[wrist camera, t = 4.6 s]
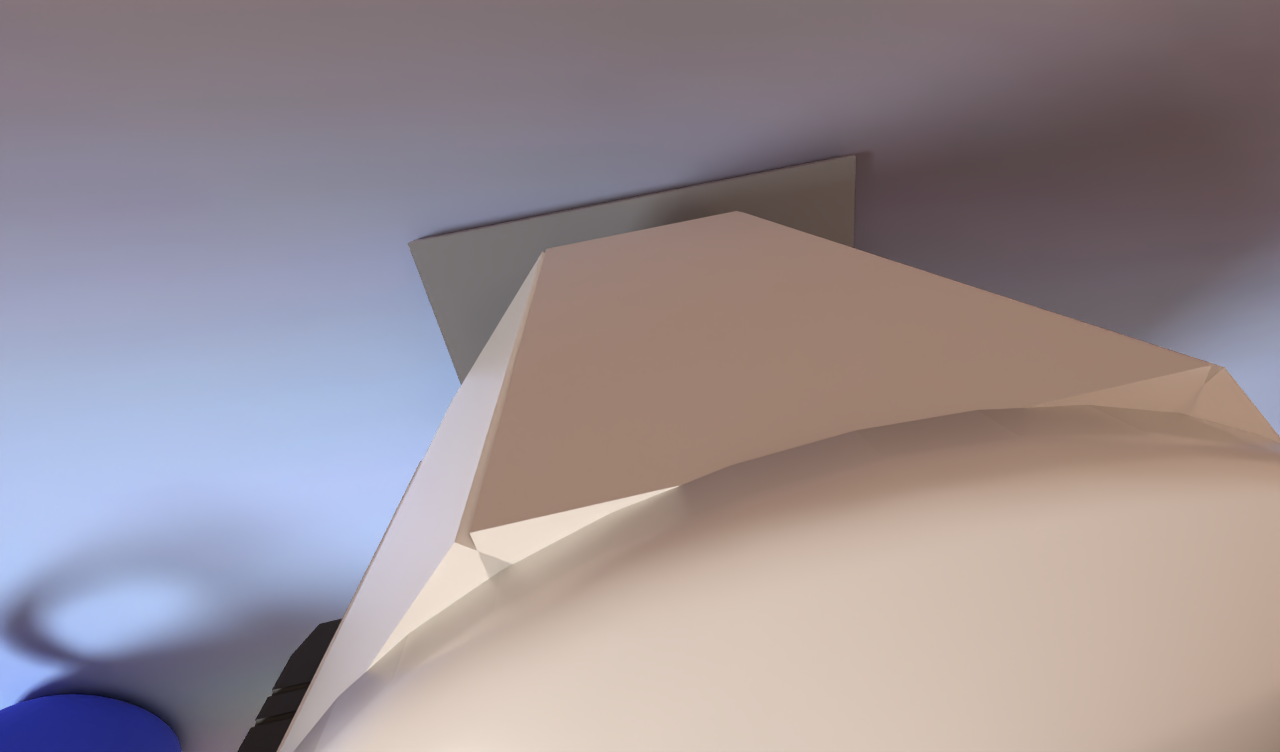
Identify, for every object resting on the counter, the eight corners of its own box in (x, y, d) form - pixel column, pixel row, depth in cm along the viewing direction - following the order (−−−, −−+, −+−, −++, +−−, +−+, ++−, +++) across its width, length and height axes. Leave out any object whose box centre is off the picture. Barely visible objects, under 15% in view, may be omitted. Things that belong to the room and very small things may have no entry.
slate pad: (414, 239, 13) (407, 243, 12) (844, 155, 13) (855, 155, 13) (534, 561, 18) (532, 574, 17) (839, 493, 18) (848, 503, 18)
